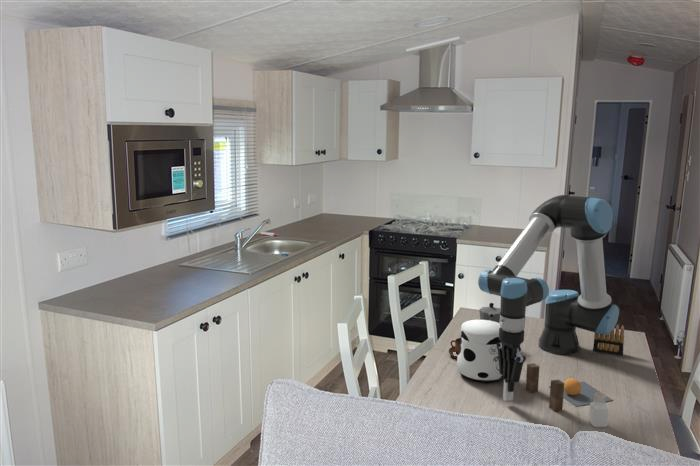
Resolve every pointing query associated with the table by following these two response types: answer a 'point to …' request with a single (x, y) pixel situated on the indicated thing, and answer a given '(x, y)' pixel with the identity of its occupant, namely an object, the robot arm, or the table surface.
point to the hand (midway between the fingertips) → (507, 399)
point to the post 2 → (556, 395)
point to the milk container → (479, 350)
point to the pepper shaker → (598, 411)
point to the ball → (572, 386)
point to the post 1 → (532, 378)
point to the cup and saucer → (455, 347)
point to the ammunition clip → (610, 342)
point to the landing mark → (583, 395)
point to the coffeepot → (490, 313)
